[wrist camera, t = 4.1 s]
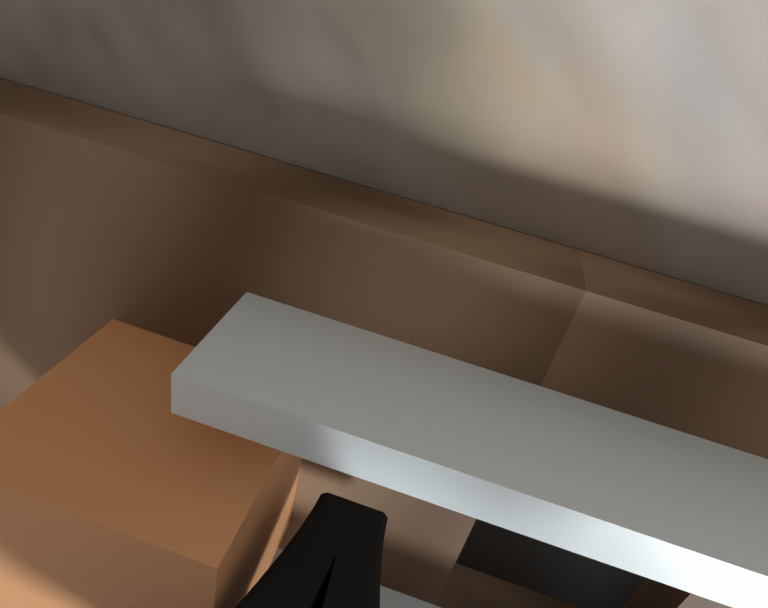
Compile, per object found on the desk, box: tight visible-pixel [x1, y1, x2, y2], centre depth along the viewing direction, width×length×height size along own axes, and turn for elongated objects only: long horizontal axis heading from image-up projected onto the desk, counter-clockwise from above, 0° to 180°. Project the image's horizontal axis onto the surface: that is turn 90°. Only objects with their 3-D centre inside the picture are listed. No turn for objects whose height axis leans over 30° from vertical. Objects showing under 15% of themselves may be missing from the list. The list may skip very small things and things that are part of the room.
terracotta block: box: [0, 319, 302, 608], centre depth 11 cm, size 4×4×4 cm
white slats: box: [171, 292, 768, 608], centre depth 11 cm, size 12×8×2 cm, turn 78°
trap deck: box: [0, 78, 768, 608], centre depth 13 cm, size 19×12×2 cm, turn 78°
